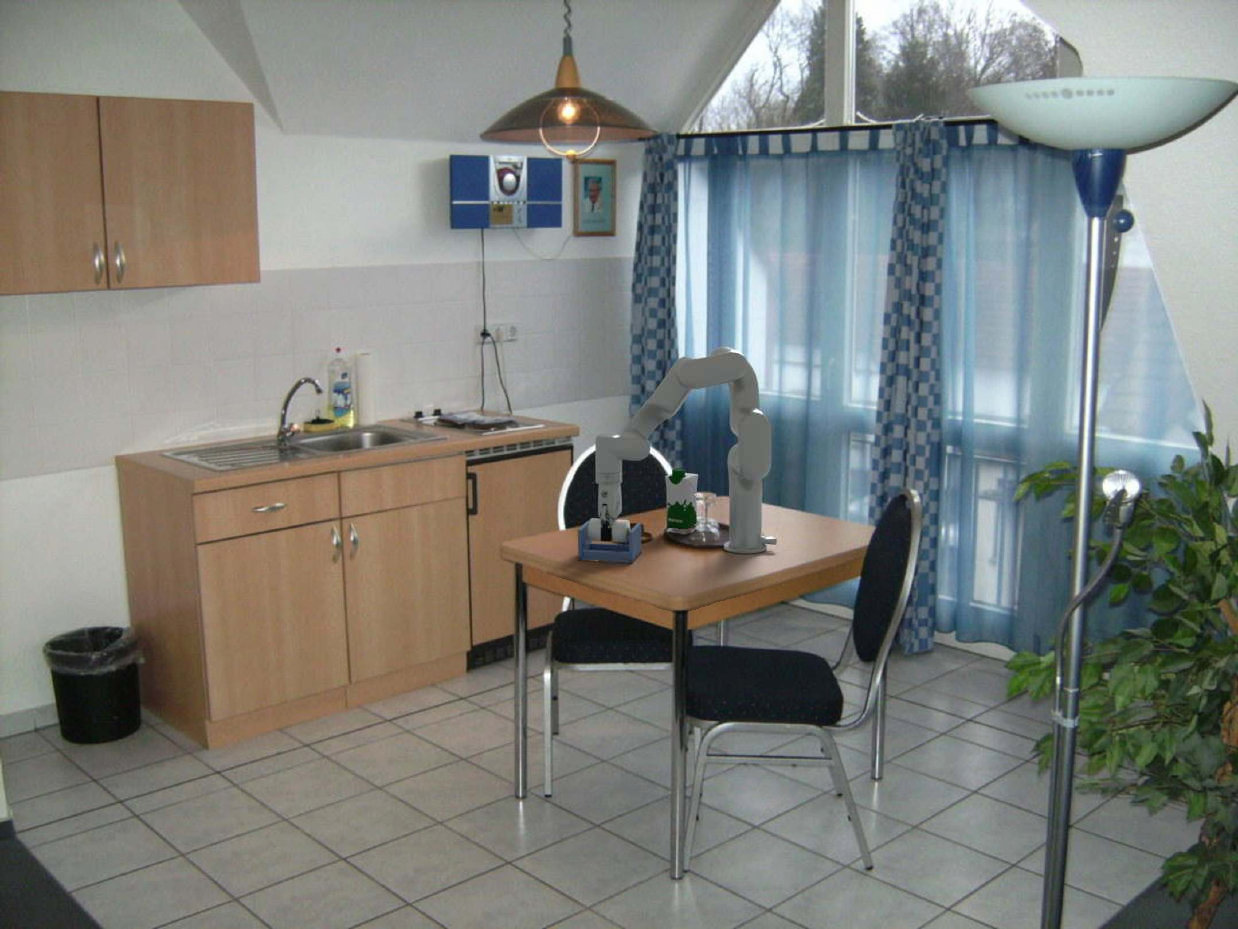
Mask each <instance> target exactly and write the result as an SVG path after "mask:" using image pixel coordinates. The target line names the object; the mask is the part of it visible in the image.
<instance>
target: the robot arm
mask: <svg viewBox="0 0 1238 929" xmlns="http://www.w3.org/2000/svg"><path fill="white" fill-rule="evenodd" d="M724 384H727V387H728V395H729V427H730V430H731V432H732V433H733V434H734V435H735V436H736V437H737V438H738V439H737V440H738V442H737V443H736V444H734V445H733V446H732V447H731V448H730V450H729V452H728V456H727V471H728V487H729V492H728V493H729V497H728V500H729V502H728V503H729V504H728V505H729V506H728V507H729V510H728V514H729V515H728V521H729V522H728V525H729V526H728V537H729V538H728V541H726V542H724V543H723V549H724V550H725V551H727V552H730V553H733V554H734V553H735V554H748V555H749V554H758V553H762V552H765V551H766V550H767V549H768V546H767V545H772V546H777V543H778V542H777V540H778V539H777V538H776V537H774V536H766V535H764V534H765V532H764V531H763V530H762V528H763V526H762V525H763V524H762V523H763V522H762V521H763V520H762V518H763V517H762V516H763V513H762V512H763V511H762V510H763V482H762V480H763V479H765V477H767V475H768V474H769V472H770V470H771V466H772V428H771V423H770V421H769V419H768V416H767V415H766V414H765V413H764V412H762V411H761V407H760V390H759V381H758V378H757V375H756V372H755V370H754V368H753V366H752V365H751V363H750V362H749V361H748V359H747V357H746V356H745V355H744V354H743V353H742V352H740V351H739V350H736V349H734V348H732V347H728V346H719V347H717V348H715V349H714V350H713V351H712V352H711V354H710V356H705V357H701V358H699V357H698V358H696V357H693V356H687V355H685V356H682V357H680V358H678V359H677V360H676V361H675V362H674V363H673V365H672V366H671V368H670V369H669V370H668V372H667V373H666V374H665V377H663V380H662V381H661V382H660V384H659V385H658V386H657V387H656V388H655V390H654V392H653V394H652V395H651V396H650V397H649V398H648V399H647V400H646V401H645V402H644V403H643V405H641V407H640V408H639V409H638V410H637V411H636V412H635V413H634V414H633V416H632V417H631V418H630V420H629V422H627V424H626V426H625V427H624V428H623V430H622V432H621V433H620V435H619V434H617V433H602V434H601V433H600V434H598V435H597V436H596V437H595V440H594V441H595V446H594V448H595V449H594V450H595V483H596V484H598V496H597V498H598V499H597V513H598V517H599V519H601V541H600V542H608V543H611V541H612V528H611V519H616V520H619V518H618V516H619V515H620V514H621V513H622V510H623V506H622V504H623V502H622V487H621V484H622V483H623V460H625V461H632V462H633V461H635V462H638V461H642V460H645V459H646V458H647V457H648V456H649V454H650V452H651V443H650V441H649V440H648V438H649V437H650V436H651V435H652V433H653V432H654V431H655V429H656V428H657V427H658V426H659V425H660V424H662V423H663V422H664V421H665V420H668V419H670V418H672V417H673V416H674V415H676V413H678V411H679V409H681V406H683V404H684V403H685V401H686V400H687V398H688V396H689V395H690V394H691V393H692V391H693V390H701V389H705V388H711V387H715V386H718V385H719V386H720V385H724ZM607 520H609V522H608V521H607Z"/></svg>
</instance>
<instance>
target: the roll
mask: <svg viewBox="0 0 1238 929" xmlns="http://www.w3.org/2000/svg"><path fill="white" fill-rule="evenodd" d="M589 521H590V522H589V526H588V535H589V540H591V542H593V541H596V542H602V541H601V519H600V518H594V517H593V518H592V517H591V518H590V519H589ZM607 521H608V522H609V520H607ZM630 523H631V522H630V520H629V519H618V520H616V519H611V528H612V541H611V542H613V543H615V542H616V543H619V542H628V540H629V532H630V531H631V528H630ZM611 542H610V543H611Z"/></svg>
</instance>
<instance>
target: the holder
mask: <svg viewBox="0 0 1238 929" xmlns="http://www.w3.org/2000/svg"><path fill="white" fill-rule="evenodd" d="M589 522H590V520H587V521H586V522H585V523H584V524H582V526H580V527H579V528H578V529H577V558H578V559H577V560H598V561H605V562H604V563H617V562H625V563H624V564H634V563H635V562H636V560H637V559H639V557H640V555H642V547H641V546H642V543H641V540H642V537H641V524H642V523H641V522H636V523H637V524H636V525H635V526H634V528H633V529H632V530H631V531H630V532H629V544H625V545H623V544H620V543H618V544H617V543H616V544H615V543H597V542H596V543H595V542H594V543H593V542H592V541H591V540H589V535H588V526H589ZM638 556H639V557H638ZM598 561H597V562H598ZM633 562H634V563H633Z"/></svg>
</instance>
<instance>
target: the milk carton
mask: <svg viewBox="0 0 1238 929" xmlns="http://www.w3.org/2000/svg"><path fill="white" fill-rule="evenodd" d="M664 477H665V478H664V480H665V485H666V530H667V529H668V528H678V529H688V528H691V527H692V526H694V524H696V523H697V524H698V521H697V520H698V519H697V518H698V516H697V509H698V508H697V507H698V506H697V503H698V502H697V501H698V500H697V498H696V496H697V495H696V496H695V495H694V494H697V488H698V479H699V474H697V473H687V472H686V469H685V468H673V469H671V473H670V474H668V475H665V476H664Z"/></svg>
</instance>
